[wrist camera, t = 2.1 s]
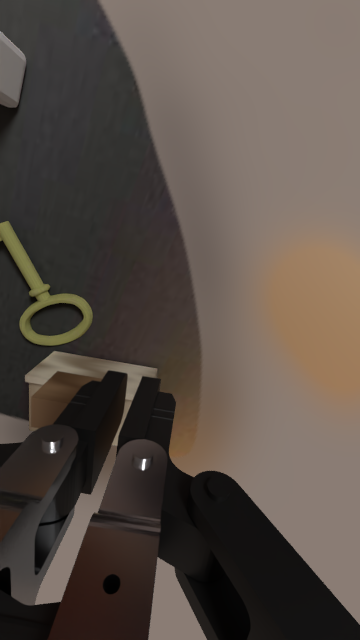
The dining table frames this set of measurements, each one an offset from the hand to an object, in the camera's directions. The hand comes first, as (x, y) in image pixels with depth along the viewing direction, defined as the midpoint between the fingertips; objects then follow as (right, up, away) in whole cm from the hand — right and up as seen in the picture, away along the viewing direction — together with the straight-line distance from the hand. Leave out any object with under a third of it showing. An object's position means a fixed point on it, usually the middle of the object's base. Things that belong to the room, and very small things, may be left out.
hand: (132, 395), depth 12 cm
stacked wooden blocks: (-6, -3, +19) cm, 20 cm away
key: (-11, +6, +18) cm, 22 cm away
